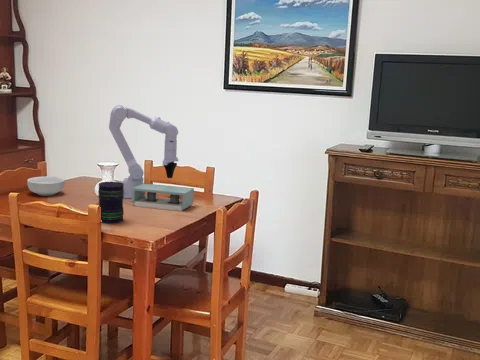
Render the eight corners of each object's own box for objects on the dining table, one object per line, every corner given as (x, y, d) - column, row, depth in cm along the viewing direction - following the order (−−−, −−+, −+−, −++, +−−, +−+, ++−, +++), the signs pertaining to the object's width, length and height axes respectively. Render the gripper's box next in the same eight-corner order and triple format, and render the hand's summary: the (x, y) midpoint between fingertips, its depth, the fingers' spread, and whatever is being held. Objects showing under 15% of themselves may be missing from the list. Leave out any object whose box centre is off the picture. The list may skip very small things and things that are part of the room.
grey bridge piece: (132, 203, 253) (132, 188, 252) (143, 198, 265) (143, 183, 263) (184, 209, 247) (184, 193, 246) (193, 203, 259) (193, 188, 258)
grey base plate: (134, 205, 253) (134, 201, 252) (145, 200, 264) (145, 196, 264) (181, 211, 248) (181, 206, 247) (190, 205, 259) (190, 201, 259)
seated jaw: (168, 207, 253) (169, 194, 252) (171, 205, 257) (172, 192, 256) (177, 208, 252) (177, 195, 251) (180, 206, 256) (180, 193, 255)
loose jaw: (145, 204, 256) (145, 191, 255) (149, 203, 260) (149, 190, 258) (153, 205, 255) (154, 192, 254) (157, 203, 259) (157, 191, 257)
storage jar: (127, 222, 225) (127, 185, 222) (103, 224, 220) (103, 187, 217) (118, 216, 233) (118, 180, 231) (94, 218, 228) (94, 182, 225)
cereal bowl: (20, 193, 267) (20, 178, 265) (52, 189, 279) (52, 174, 278) (39, 199, 256) (39, 184, 255) (72, 194, 268) (72, 180, 267)
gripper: (172, 152, 262) (172, 181, 264) (183, 148, 276) (182, 176, 278) (158, 151, 264) (158, 179, 266) (170, 147, 277) (169, 174, 280)
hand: (169, 177), depth 272 cm, fingers closed
